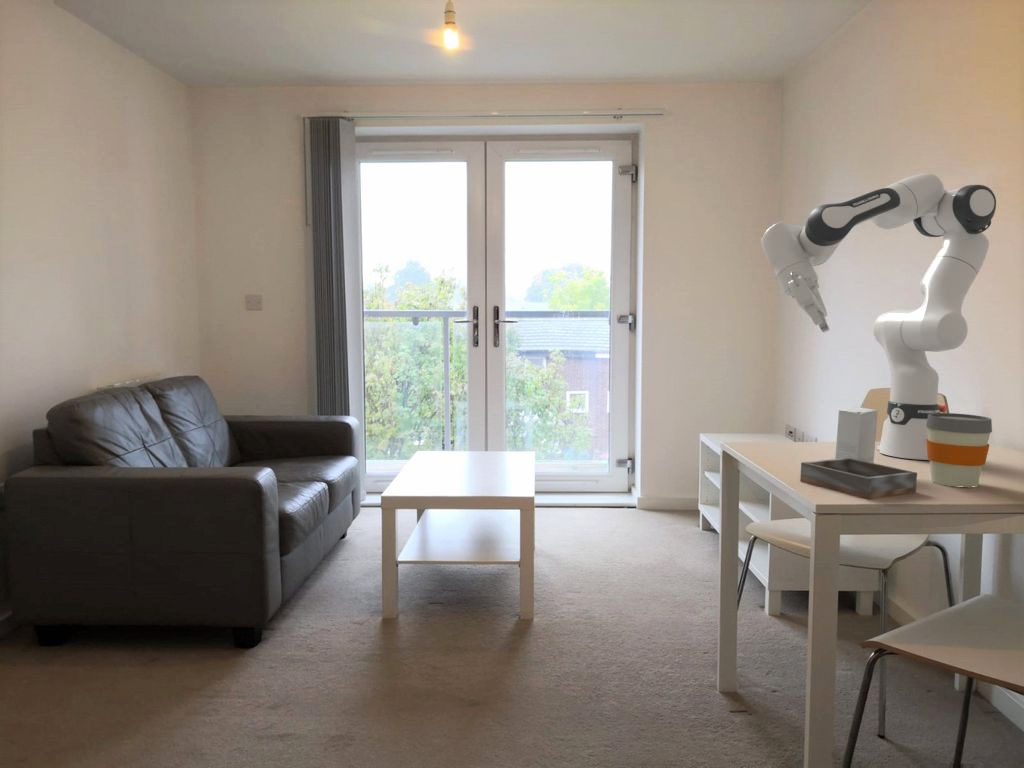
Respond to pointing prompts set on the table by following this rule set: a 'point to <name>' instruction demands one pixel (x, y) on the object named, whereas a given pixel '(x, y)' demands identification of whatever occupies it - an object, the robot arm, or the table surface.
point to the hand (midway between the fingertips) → (822, 327)
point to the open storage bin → (858, 477)
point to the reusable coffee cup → (957, 447)
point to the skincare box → (856, 434)
